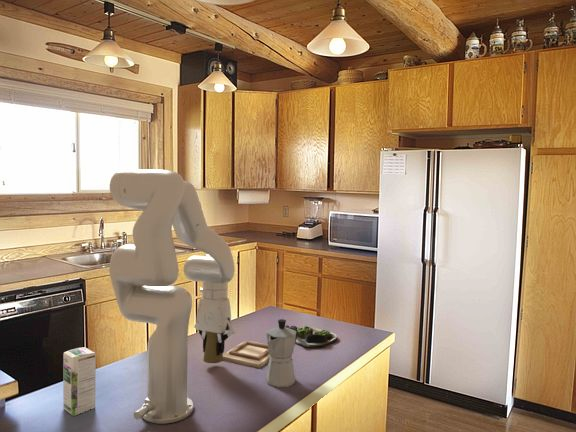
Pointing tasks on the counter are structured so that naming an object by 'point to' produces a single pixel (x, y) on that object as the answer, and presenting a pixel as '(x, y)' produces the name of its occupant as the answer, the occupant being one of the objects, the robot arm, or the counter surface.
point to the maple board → (248, 354)
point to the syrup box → (79, 380)
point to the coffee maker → (281, 355)
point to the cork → (212, 349)
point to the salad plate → (314, 337)
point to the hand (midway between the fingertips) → (213, 352)
